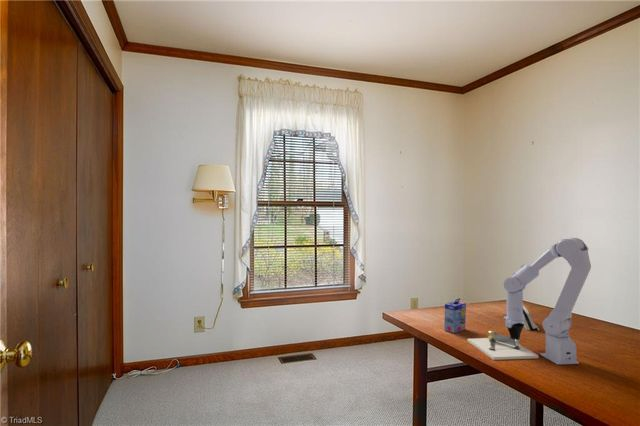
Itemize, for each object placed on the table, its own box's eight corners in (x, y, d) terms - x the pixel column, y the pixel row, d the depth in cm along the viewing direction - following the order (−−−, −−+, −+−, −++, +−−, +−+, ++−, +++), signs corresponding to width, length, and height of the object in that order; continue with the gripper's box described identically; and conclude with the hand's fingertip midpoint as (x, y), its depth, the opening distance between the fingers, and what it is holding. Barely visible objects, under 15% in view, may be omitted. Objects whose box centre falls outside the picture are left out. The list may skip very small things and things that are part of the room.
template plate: (538, 358, 134) (538, 353, 134) (493, 359, 133) (493, 355, 133) (507, 339, 154) (506, 335, 154) (467, 341, 153) (467, 337, 153)
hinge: (539, 330, 165) (531, 309, 166) (528, 333, 167) (520, 312, 168) (530, 320, 181) (522, 301, 182) (520, 323, 183) (512, 303, 184)
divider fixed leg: (490, 341, 149) (490, 338, 149) (494, 342, 149) (494, 339, 149) (489, 349, 140) (489, 346, 140) (493, 350, 140) (493, 347, 140)
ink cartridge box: (455, 333, 163) (454, 300, 163) (443, 330, 167) (443, 298, 167) (466, 329, 169) (466, 297, 169) (455, 326, 173) (455, 295, 173)
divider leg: (486, 339, 150) (486, 331, 150) (490, 338, 152) (490, 329, 152) (516, 348, 140) (516, 339, 140) (521, 346, 141) (520, 337, 141)
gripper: (510, 302, 153) (511, 335, 153) (496, 308, 143) (497, 343, 143) (529, 305, 148) (529, 339, 148) (516, 312, 138) (516, 348, 138)
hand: (515, 342), depth 145 cm, fingers closed
